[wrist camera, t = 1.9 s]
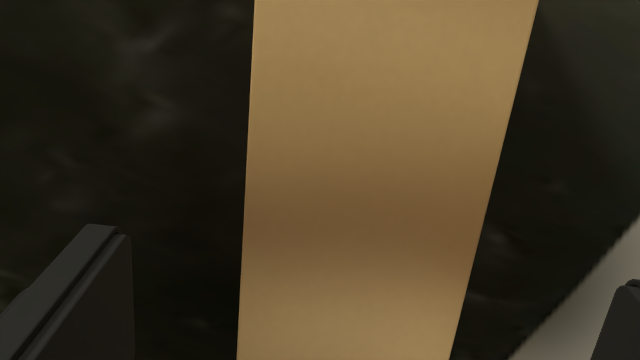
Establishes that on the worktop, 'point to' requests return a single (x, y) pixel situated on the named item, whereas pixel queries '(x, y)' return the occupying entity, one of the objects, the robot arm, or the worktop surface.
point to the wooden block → (371, 171)
